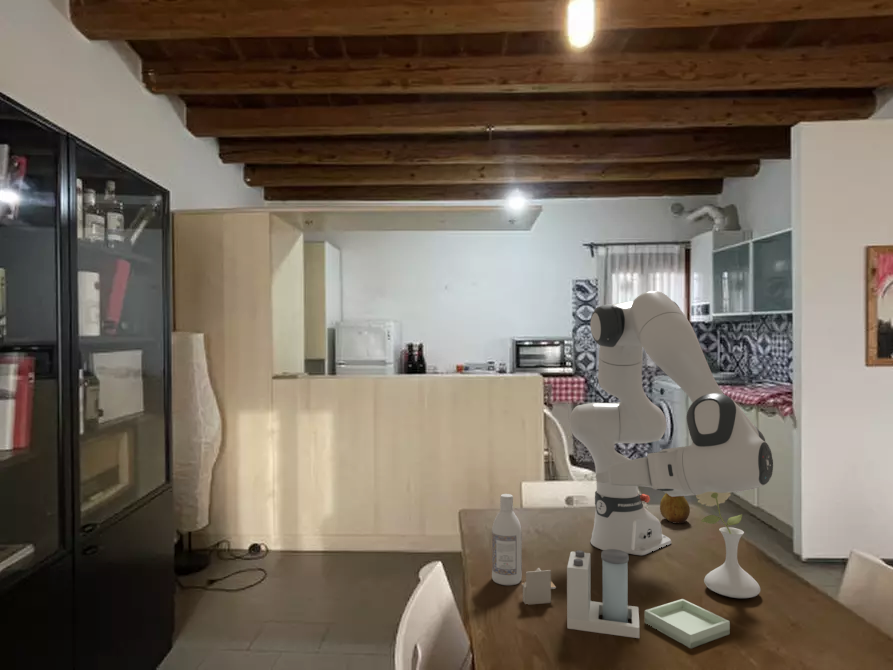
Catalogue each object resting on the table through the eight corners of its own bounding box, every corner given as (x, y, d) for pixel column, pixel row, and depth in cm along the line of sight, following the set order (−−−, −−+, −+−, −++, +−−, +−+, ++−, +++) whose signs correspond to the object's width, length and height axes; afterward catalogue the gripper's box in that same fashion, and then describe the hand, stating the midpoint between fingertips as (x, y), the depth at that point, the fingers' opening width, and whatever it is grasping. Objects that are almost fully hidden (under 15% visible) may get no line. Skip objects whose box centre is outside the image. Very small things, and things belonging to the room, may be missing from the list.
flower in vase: (755, 585, 135) (755, 476, 135) (764, 607, 125) (764, 489, 125) (694, 578, 140) (694, 472, 140) (698, 598, 129) (697, 484, 129)
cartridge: (615, 615, 121) (615, 547, 121) (634, 626, 116) (634, 555, 116) (596, 621, 118) (595, 552, 118) (614, 632, 114) (614, 560, 114)
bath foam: (503, 571, 144) (502, 489, 144) (527, 579, 139) (527, 494, 139) (486, 580, 138) (486, 495, 138) (510, 588, 134) (510, 501, 134)
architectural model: (520, 599, 129) (520, 566, 129) (550, 597, 131) (550, 564, 131) (525, 607, 126) (525, 572, 126) (556, 604, 127) (556, 570, 127)
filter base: (638, 616, 120) (638, 554, 120) (639, 638, 112) (639, 571, 112) (571, 608, 124) (570, 547, 124) (567, 628, 116) (567, 563, 116)
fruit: (681, 516, 188) (681, 478, 188) (695, 525, 179) (695, 485, 179) (655, 516, 187) (655, 479, 187) (667, 525, 178) (667, 486, 178)
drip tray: (682, 610, 123) (682, 598, 123) (729, 634, 113) (729, 621, 113) (644, 622, 118) (644, 610, 118) (690, 648, 108) (690, 634, 108)
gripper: (693, 457, 119) (629, 464, 127) (651, 451, 104) (582, 460, 113) (699, 489, 117) (633, 494, 125) (657, 488, 102) (586, 494, 111)
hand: (608, 478), depth 119 cm, fingers open, 8 cm apart
